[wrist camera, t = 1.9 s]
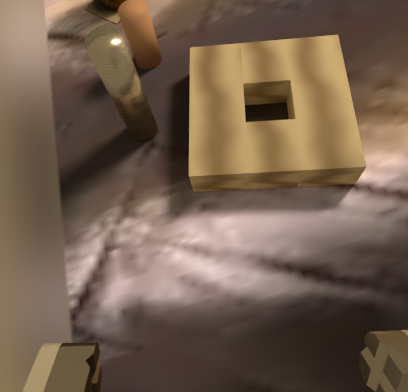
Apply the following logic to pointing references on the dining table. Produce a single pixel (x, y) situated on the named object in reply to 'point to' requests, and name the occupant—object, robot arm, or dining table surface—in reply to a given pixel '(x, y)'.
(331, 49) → the hole block
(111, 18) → the condiment
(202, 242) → the dining table surface
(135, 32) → the short terracotta pin
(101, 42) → the tall metal pin
